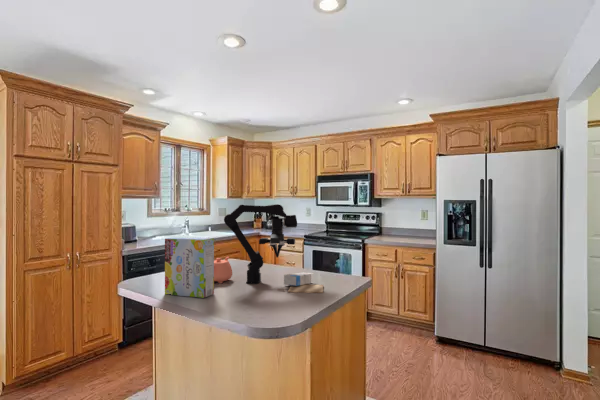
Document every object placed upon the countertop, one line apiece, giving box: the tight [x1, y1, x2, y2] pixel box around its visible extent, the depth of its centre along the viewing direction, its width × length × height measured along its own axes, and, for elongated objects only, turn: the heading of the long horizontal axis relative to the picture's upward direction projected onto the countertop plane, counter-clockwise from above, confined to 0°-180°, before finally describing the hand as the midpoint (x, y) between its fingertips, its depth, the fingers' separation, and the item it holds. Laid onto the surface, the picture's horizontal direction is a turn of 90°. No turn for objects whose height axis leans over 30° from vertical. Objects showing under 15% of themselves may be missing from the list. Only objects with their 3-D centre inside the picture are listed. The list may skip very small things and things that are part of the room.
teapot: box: [214, 256, 233, 284], centre depth 178 cm, size 13×20×12 cm, turn 164°
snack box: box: [164, 236, 215, 299], centre depth 152 cm, size 22×9×26 cm, turn 71°
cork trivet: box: [287, 283, 324, 294], centre depth 161 cm, size 16×13×1 cm
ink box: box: [283, 271, 315, 286], centre depth 170 cm, size 8×5×15 cm
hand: (277, 257), depth 177 cm, fingers closed
